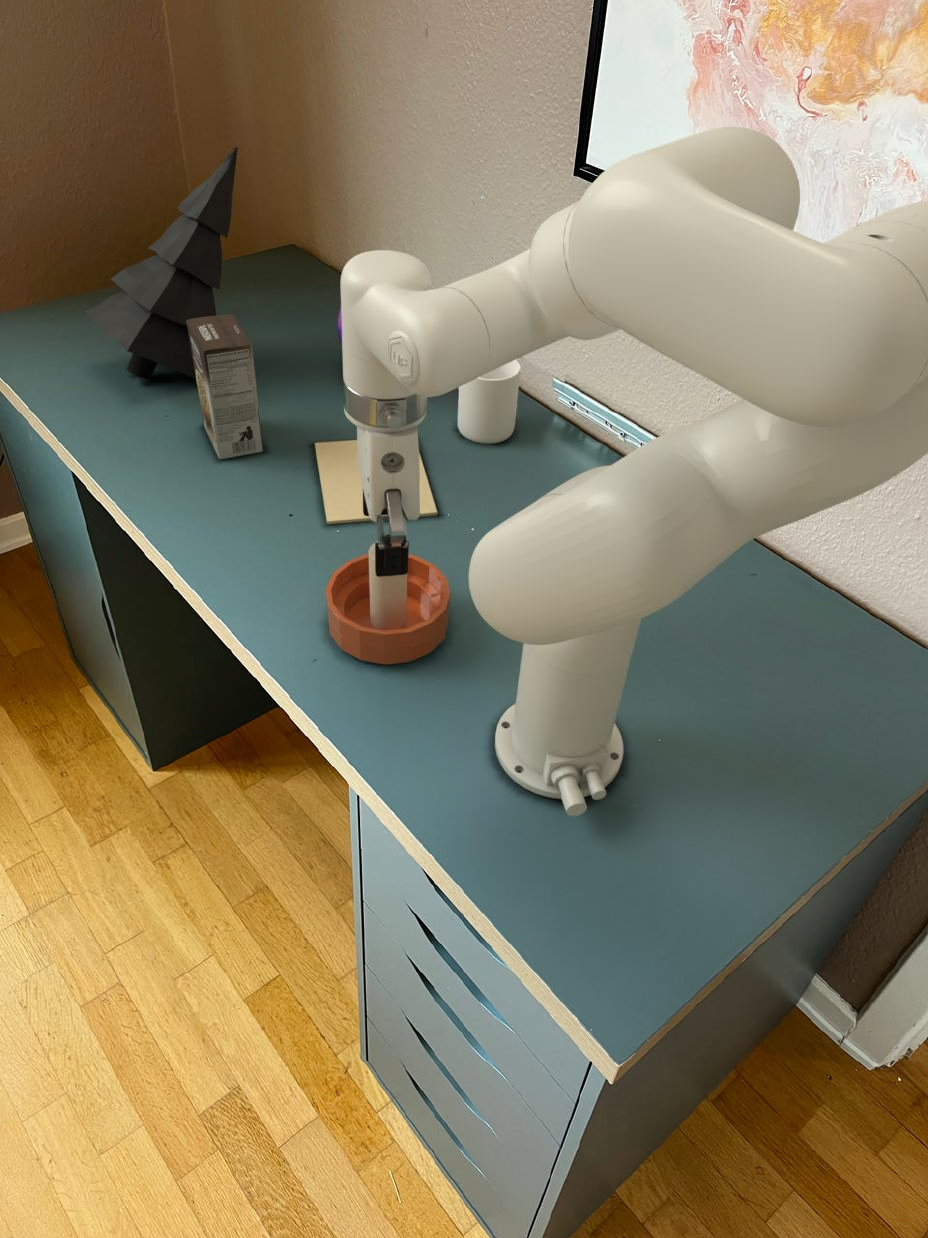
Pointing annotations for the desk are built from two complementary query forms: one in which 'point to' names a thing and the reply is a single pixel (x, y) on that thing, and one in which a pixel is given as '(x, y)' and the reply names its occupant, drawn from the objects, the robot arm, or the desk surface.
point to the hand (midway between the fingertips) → (384, 542)
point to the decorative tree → (172, 281)
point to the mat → (353, 483)
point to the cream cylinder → (387, 598)
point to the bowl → (391, 646)
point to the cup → (489, 405)
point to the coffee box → (226, 384)
